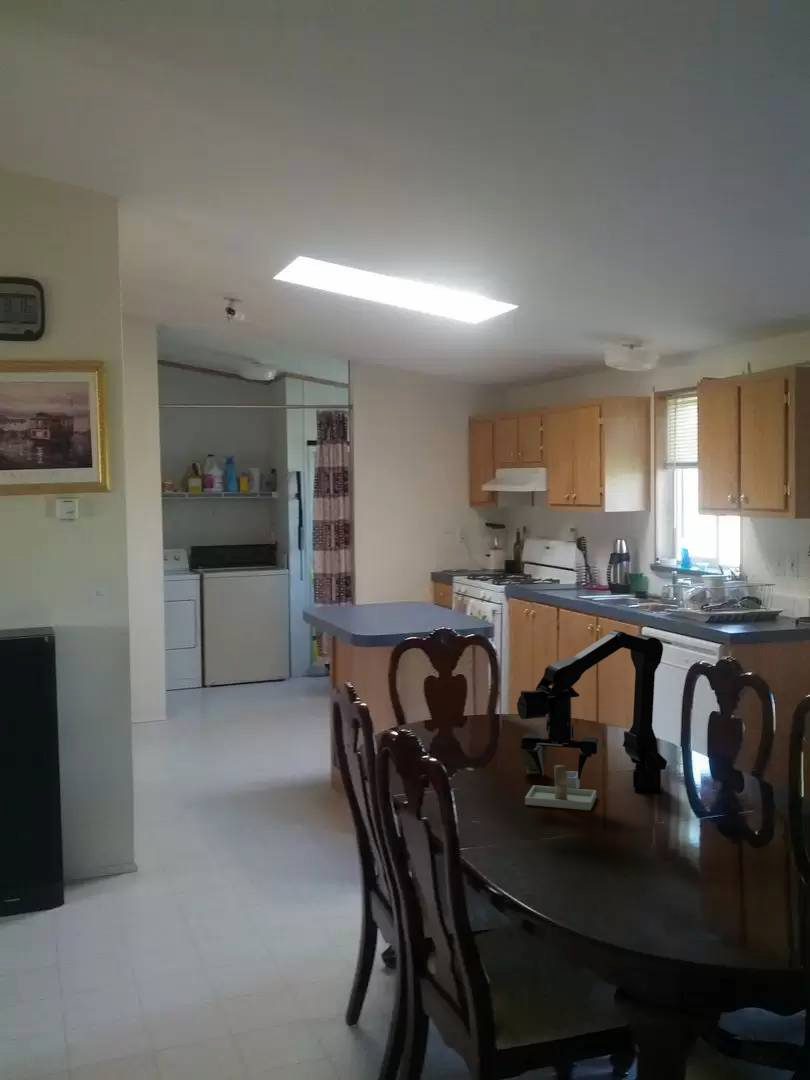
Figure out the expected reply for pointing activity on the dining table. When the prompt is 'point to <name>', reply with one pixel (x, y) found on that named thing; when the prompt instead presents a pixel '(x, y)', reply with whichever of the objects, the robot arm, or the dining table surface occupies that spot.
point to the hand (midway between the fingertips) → (560, 777)
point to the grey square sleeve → (573, 780)
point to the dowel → (560, 782)
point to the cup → (532, 761)
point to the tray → (574, 800)
